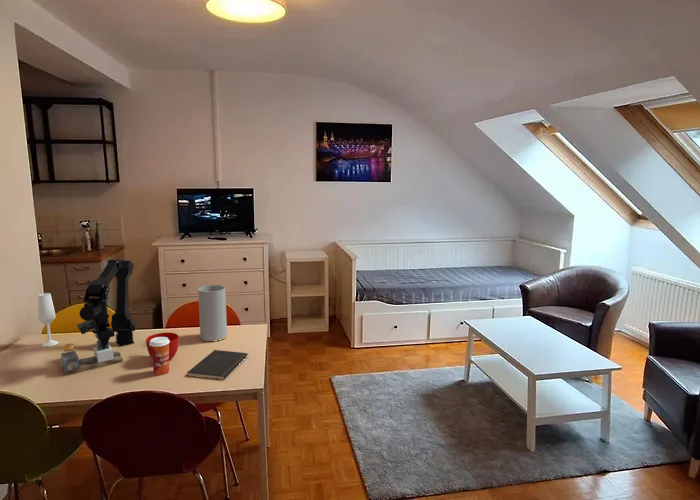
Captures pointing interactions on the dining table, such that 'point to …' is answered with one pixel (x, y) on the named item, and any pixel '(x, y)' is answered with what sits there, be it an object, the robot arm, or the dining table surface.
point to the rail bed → (85, 362)
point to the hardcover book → (217, 364)
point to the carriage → (103, 352)
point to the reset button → (68, 347)
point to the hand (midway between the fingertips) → (103, 347)
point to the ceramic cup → (172, 345)
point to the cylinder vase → (212, 312)
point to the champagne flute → (46, 314)
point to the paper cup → (160, 355)
